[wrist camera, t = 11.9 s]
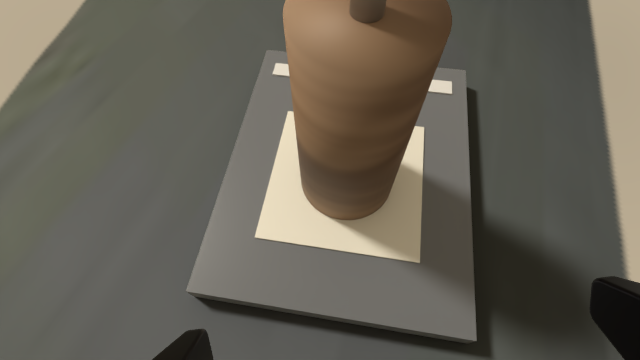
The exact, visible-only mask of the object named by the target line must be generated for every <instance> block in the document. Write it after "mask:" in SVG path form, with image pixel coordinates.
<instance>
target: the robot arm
mask: <svg viewBox="0 0 640 360" xmlns="http://www.w3.org/2000/svg"><path fill="white" fill-rule="evenodd" d="M590 314H591V317H592V319H593V320H594V322H595V323H596V324H597V326H598V327H599V328H600V329H601V331H602V332H603V333H604V334H605V336H606V337H607V338H608V339H609V341H610V342H611V343H612V344H613V346H614V347H615V348H616V349H617V351H618V352H619V353H620V354H621V356H622V357H623V358H624V360H640V283H638V282H634V281H630V280H626V279H623V278H619V277H615V276H610V277H602V278H596V279H595V280H594V281H593V282H592V287H591V298H590ZM152 360H213V355H212V351H211V346H210V342H209V337H208V334H207V331H206V330H205V329H195V330H188V331H186V332H185V333H183V334H182V335H181V336H180V337H179V338H177V339H176V340H175V341H174V342H173V343H171V344H170V345H169V346H168V347H167V348H165V349H164V350H163V351H162V352H161V353H159V354H158V355H157V356H156V357H155V358H153V359H152Z"/></svg>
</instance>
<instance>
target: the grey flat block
mask: <svg viewBox="0 0 640 360" xmlns="http://www.w3.org/2000/svg"><path fill="white" fill-rule="evenodd" d="M186 292H188V293H189V294H191V295H193V296H194V297H200V298H206V299H211V300H217V301H223V302H229V303H235V304H240V305H246V306H252V307H258V308H264V309H269V310H275V311H281V312H287V313H293V314H298V315H304V316H310V317H316V318H322V319H327V320H333V321H339V322H345V323H351V324H356V325H362V326H368V327H374V328H379V329H385V330H391V331H397V332H403V333H408V334H414V335H420V336H426V337H432V338H437V339H443V340H449V341H455V342H461V343H466V344H468V343H471V342H475V341H477V336H476V312H475V288H474V263H473V239H472V214H471V190H470V165H469V141H468V116H467V92H466V70H457V69H447V68H437V69H436V71H435V74H434V77H433V79H432V82H431V85H430V87H429V90H428V93H427V95H426V98H425V101H424V103H423V106H422V109H421V111H420V114H419V117H418V119H417V122H416V125H415V127H414V130H413V133H412V135H411V138H410V141H409V143H408V146H407V149H406V151H405V154H404V157H403V159H402V162H401V165H400V167H399V170H398V173H397V175H396V178H395V181H394V183H393V186H392V189H391V191H390V194H389V196H388V198H387V200H386V202H385V203H384V204H383V205H382V207H381V208H379V209H378V210H377V211H376V212H374V213H373V214H371V215H369V216H367V217H364V218H361V219H357V220H339V219H335V218H331V217H329V216H326V215H324V214H322V213H321V212H319V211H318V210H317V209H315V208H314V207H313V206H312V205H311V204H310V202H309V201H308V200H307V198H306V196H305V194H304V192H303V189H302V185H301V176H300V167H299V158H298V149H297V140H296V130H295V121H294V112H293V103H292V94H291V85H290V76H289V67H288V58H287V52H282V51H272V50H267V51H266V54H265V57H264V60H263V63H262V66H261V69H260V72H259V75H258V78H257V81H256V84H255V87H254V90H253V93H252V96H251V99H250V102H249V105H248V108H247V111H246V114H245V117H244V120H243V123H242V126H241V129H240V132H239V135H238V138H237V141H236V144H235V147H234V150H233V153H232V156H231V159H230V162H229V164H228V167H227V170H226V173H225V176H224V179H223V182H222V185H221V188H220V191H219V194H218V197H217V200H216V203H215V206H214V209H213V212H212V215H211V218H210V221H209V224H208V227H207V230H206V233H205V236H204V239H203V242H202V245H201V248H200V251H199V254H198V257H197V260H196V263H195V266H194V269H193V272H192V275H191V278H190V281H189V284H188V286H187V289H186Z"/></svg>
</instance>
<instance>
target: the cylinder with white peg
mask: <svg viewBox="0 0 640 360" xmlns="http://www.w3.org/2000/svg"><path fill="white" fill-rule="evenodd" d="M283 22H284V31H285V40H286V49H287V58H288V67H289V76H290V85H291V94H292V103H293V112H294V121H295V130H296V140H297V149H298V158H299V167H300V176H301V185H302V189H303V192H304V194H305V196H306V198H307V200H308V201H309V202H310V204H311V205H312V206H313V207H314V208H315V209H317V210H318V211H319V212H321V213H322V214H324V215H326V216H329V217H331V218H335V219H339V220H357V219H361V218H364V217H367V216H369V215H371V214H373V213H374V212H376V211H377V210H378V209H379V208H381V207H382V205H383V204H384V203H385V202H386V200H387V198H388V196H389V194H390V191H391V189H392V186H393V183H394V181H395V178H396V175H397V173H398V170H399V167H400V165H401V162H402V159H403V157H404V154H405V151H406V149H407V146H408V143H409V141H410V138H411V135H412V133H413V130H414V127H415V125H416V122H417V119H418V117H419V114H420V111H421V109H422V106H423V103H424V101H425V98H426V95H427V93H428V90H429V87H430V85H431V82H432V79H433V77H434V74H435V71H436V69H437V66H438V63H439V61H440V58H441V55H442V53H443V50H444V47H445V45H446V42H447V39H448V37H449V34H450V31H451V26H452V15H451V10H450V7H449V5H448V2H447V1H446V0H286V1H285V4H284V9H283Z"/></svg>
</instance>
